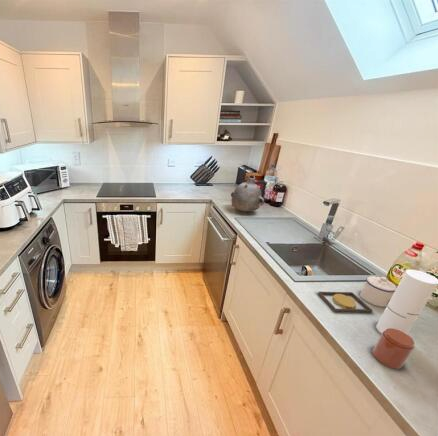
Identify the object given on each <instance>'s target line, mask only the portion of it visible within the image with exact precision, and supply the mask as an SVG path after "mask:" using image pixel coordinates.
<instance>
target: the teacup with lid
mask: <svg viewBox="0 0 438 436" xmlns="http://www.w3.org/2000/svg"><path fill="white" fill-rule="evenodd" d="M396 288H397V286H396V285H395V284H394V283H393V282H392V281H390V280H388V278H387V277H385V276H380V277H379V276H376V275H375V276H374V275H372V276H367V278H366V279H365V283H364V285H363V287H362V289H361V291H360V295H359V296H360V297H361V298H362V299H363V300H364V301H366V302H367V303H369V304H371V305H374V306H377V307H382V308H383V307H387V305H388V303H389V301H390V299H391V298H392V296H393V294H394V292H395V290H396Z"/></svg>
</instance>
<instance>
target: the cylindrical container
mask: <svg viewBox="0 0 438 436" xmlns="http://www.w3.org/2000/svg"><path fill="white" fill-rule="evenodd" d="M437 287H438V278H437V277H435V276H434V275H432V274H430V273H427V272H424V271H421V270H417V269H406V270H405V271H404V273H403V274H402V277H401V278H400V281H399V283H398V284H397V286H396V290H395V292H394V294H393V296H392V298H391V299H390V301H389V303H388V305H387V306H385V309H384V311H383V312H382V314H381V316H380V318H379V320H378V322H377V323H376V326H375V327H376V329H377V331H378V332H379V333H380V334H382V333H383V332H384V331H385V330H386V329H389V328H392V329H397V330H399V331H402V332H404V333H405V334H407V335H408V334H409V332H410V330H411V328H412V327H413V326H414V324H415V322H416V320H418V317H419V315H420V314H421V312H422V311H423V310H424V308H425V306H426V305H427V303H428V301H429V299H430V298H431V296H432V295H433V293H434V292H435V290H436V288H437Z"/></svg>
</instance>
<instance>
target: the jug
mask: <svg viewBox="0 0 438 436" xmlns="http://www.w3.org/2000/svg"><path fill="white" fill-rule="evenodd" d="M255 176H256V175H254V174H250V175H248V177H247V179H246V180H247V181H246V182H244V183H243V182H241V183H240V184H238V185H237V186H236V188H235V189H234V191H232V192H231V194H230V197H231V206H232V207H233V208H234V209H236V210H240V211H242V212H243V213H244V212H250V211H251V212H252V211H257V210H259V208H261V207H260V206H263V205H264V203H265V198H262V195H261V190H260V188H259V186H258V185H256V184H255V180H256V177H255ZM261 200H262V203H261Z"/></svg>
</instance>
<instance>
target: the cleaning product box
mask: <svg viewBox="0 0 438 436" xmlns="http://www.w3.org/2000/svg"><path fill="white" fill-rule="evenodd" d="M247 180H248V179H243V180H242V183H244V182H246V181H247ZM267 183H268V182H267V181H266V180H263V179H255V184H256V185H258V186H259V188H260V190H261V195H262V198H263V199H265V198H264V197H265V193H266V188H267V185H268V184H267ZM261 203H262V200H261Z"/></svg>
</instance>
